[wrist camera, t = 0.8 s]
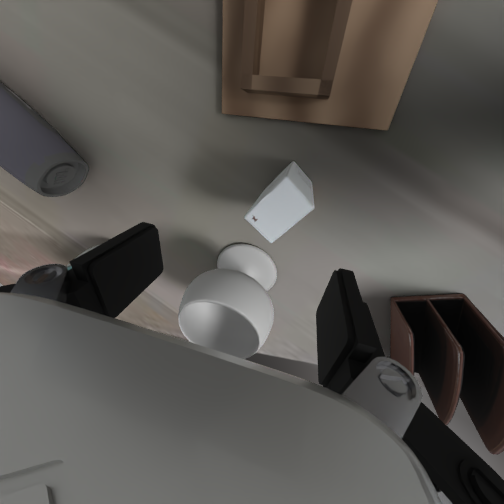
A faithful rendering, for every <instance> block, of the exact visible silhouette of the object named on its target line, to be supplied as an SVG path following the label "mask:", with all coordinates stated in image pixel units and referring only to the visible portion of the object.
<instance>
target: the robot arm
mask: <svg viewBox="0 0 504 504" xmlns="http://www.w3.org/2000/svg"><path fill="white" fill-rule="evenodd" d="M70 264H71V267H72V269H70V270H68V269H67V267H66V266H64V265H62V264H48V265H43V266H40V267H36V268H34V269H32V270H29V271H27V272H26V273H24V274H23V275H22V276H21V277H20V278H19V280H18V281H17V283H16V284H11V285H6V286H1V287H0V504H504V480H503V479H502V478H501V477H500V476H499V475H498V474H497V473H496V472H495V471H494V470H493V469H492V468H491V467H490V466H489V465H488V464H487V463H486V462H485V461H483V459H481V458H480V457H479V456H478V455H477V454H476V453H475V452H474V451H473V450H472V449H471V448H470V447H469V446H467V444H465V442H463V441H462V440H461V439H460V438H459V437H458V436H457V435H456V434H455V433H454V432H453V431H452V430H451V429H449V428H448V426H446V425H445V424H444V423H443V422H442V421H441V420H440V419H439V418H438V417H437V416H436V415H435V414H434V413H433V412H432V411H430V410H429V409H428V408H427V407H426V406H425V405H424V404H423V403H422V402H421V401H422V396H423V395H422V391H421V387H420V385H419V383H418V381H417V380H416V378H415V377H414V376H413V375H412V373H411V372H410V371H409V370H408V369H406V368H405V367H404V366H403V365H401V364H400V363H399V362H397V361H395V360H393V359H391V358H387V357H385V356H384V353H383V350H382V347H381V344H380V341H379V338H378V335H377V332H376V329H375V326H374V323H373V320H372V317H371V314H370V311H369V308H368V306H367V304H366V303H364V302H363V301H362V298H361V295H360V292H359V289H358V285H357V282H356V279H355V276H354V273H353V271H349V270H345V269H341V268H340V269H339V270H338V271H336V270H335V271H334V272H333V274H332V276H331V279H330V281H329V283H328V286H327V288H326V290H325V292H324V295H323V297H322V299H321V302H320V304H319V306H318V309H317V313H316V325H317V352H318V378H319V384H321V385H323V387H322V386H320V385H317V384H315V383H312V382H310V381H307V380H304V379H301V378H298V377H295V376H292V375H289V374H286V373H284V372H280V371H278V370H275V369H272V368H269V367H266V366H263V365H260V364H257V363H254V362H251V361H247V360H245V359H241V358H238V357H235V356H232V355H229V354H226V353H223V352H220V351H217V350H213V349H210V348H207V347H204V346H201V345H198V344H195V343H191V342H188V341H185V340H182V339H179V338H176V337H173V336H169V335H166V334H163V333H160V332H157V331H153V330H150V329H147V328H144V327H141V326H138V325H134V324H131V323H128V322H125V321H121V320H118V319H115V317H117V316H118V315H119V314H120V313H121V312H122V311H123V310H124V309H125V308H126V307H127V306H128V305H129V304H130V303H131V302H132V301H133V300H134V299H135V298H136V297H138V296H139V295H140V294H141V293H142V292H143V291H144V290H145V289H146V288H147V287H148V286H149V285H150V284H151V283H152V282H153V281H154V280H155V279H156V278H157V277H158V276H159V275H160V274H161V273H162V272H163V262H162V255H161V248H160V241H159V234H158V229H157V228H156V227H155V225H153V224H149V223H145V222H142V223H140V224H138V225H136V226H134V227H132V228H130V229H128V230H127V231H125V232H123V233H121V234H119V235H117V236H116V237H114V238H112V239H110V240H108V241H106V242H105V243H103V244H101V245H99V246H97V247H95V248H94V249H92V250H90V251H88V252H86V253H84V254H82V255H81V256H79V257H77V258H75V259H73V260H71V261H70Z"/></svg>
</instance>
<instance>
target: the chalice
mask: <svg viewBox="0 0 504 504" xmlns="http://www.w3.org/2000/svg"><path fill="white" fill-rule="evenodd" d="M276 279H277V269H276V266H275V264H274V261H273V260H272V259H271V257H270V256H269V255H268V254H267V253H266V252H265V251H263V250H261V249H260V248H258V247H256V246H253V245H250V244H243V243H242V244H234V245H230V246H228V247H227V248H225V249H224V250H223V251H222V252H221V253H220V255H219V257H218V260H217V269H213V270H209V271H206V272H204V273H202V274H200V275H199V276H197V277H196V278H195V279H194V280H193V281H192V282H191V283H190V285H189V286H188V287H187V289H186V291H185V293H184V295H183V298H182V301H181V304H180V308H179V314H178V317H179V326H180V328H181V331H182V332H183V334H184V335H185V337H186V338H187V339H188V340H189V341H190V342H191V343H195V344H198V345H201V346H204V347H207V348H210V349H213V350H217V351H220V352H223V353H226V354H229V355H232V356H235V357H238V358H241V359H245V358H248V357H250V356H252V355H253V354H255V353H256V352H257V351H258V350H259V348H260V347H261V346H262V345H263V344H264V342H265V341H266V339H267V337H268V335H269V332H270V330H271V327H272V324H273V320H274V309H273V305H272V301H271V298H270V296H269V295H268V293H267V291H268V290H269V289H271V288H272V287H273V285H274V284H275V282H276Z"/></svg>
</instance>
